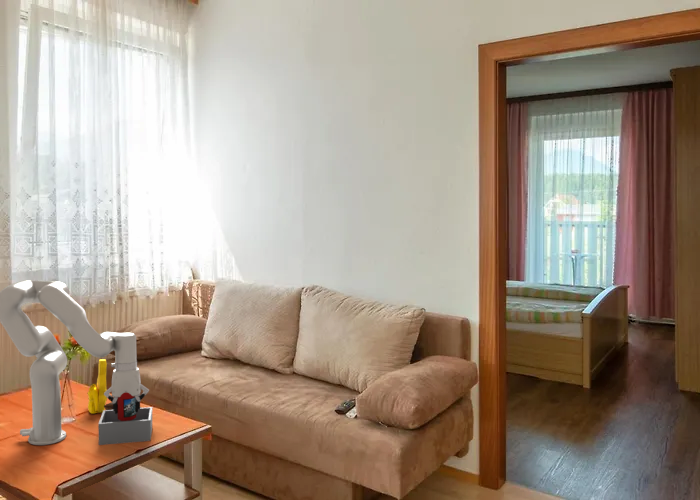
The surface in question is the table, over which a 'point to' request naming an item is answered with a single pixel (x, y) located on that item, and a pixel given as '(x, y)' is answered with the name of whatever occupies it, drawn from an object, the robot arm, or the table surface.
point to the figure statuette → (98, 390)
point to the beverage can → (126, 407)
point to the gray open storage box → (125, 427)
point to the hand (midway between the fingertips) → (126, 411)
